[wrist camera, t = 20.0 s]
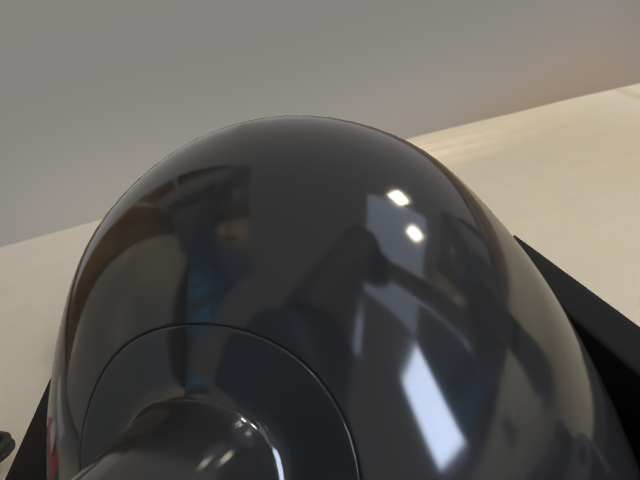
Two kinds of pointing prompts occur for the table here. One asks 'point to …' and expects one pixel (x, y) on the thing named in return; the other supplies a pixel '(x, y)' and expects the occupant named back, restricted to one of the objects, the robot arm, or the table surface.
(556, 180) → the table surface
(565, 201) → the table surface
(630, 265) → the table surface
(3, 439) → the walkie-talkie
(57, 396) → the pump dispenser
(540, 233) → the table surface
